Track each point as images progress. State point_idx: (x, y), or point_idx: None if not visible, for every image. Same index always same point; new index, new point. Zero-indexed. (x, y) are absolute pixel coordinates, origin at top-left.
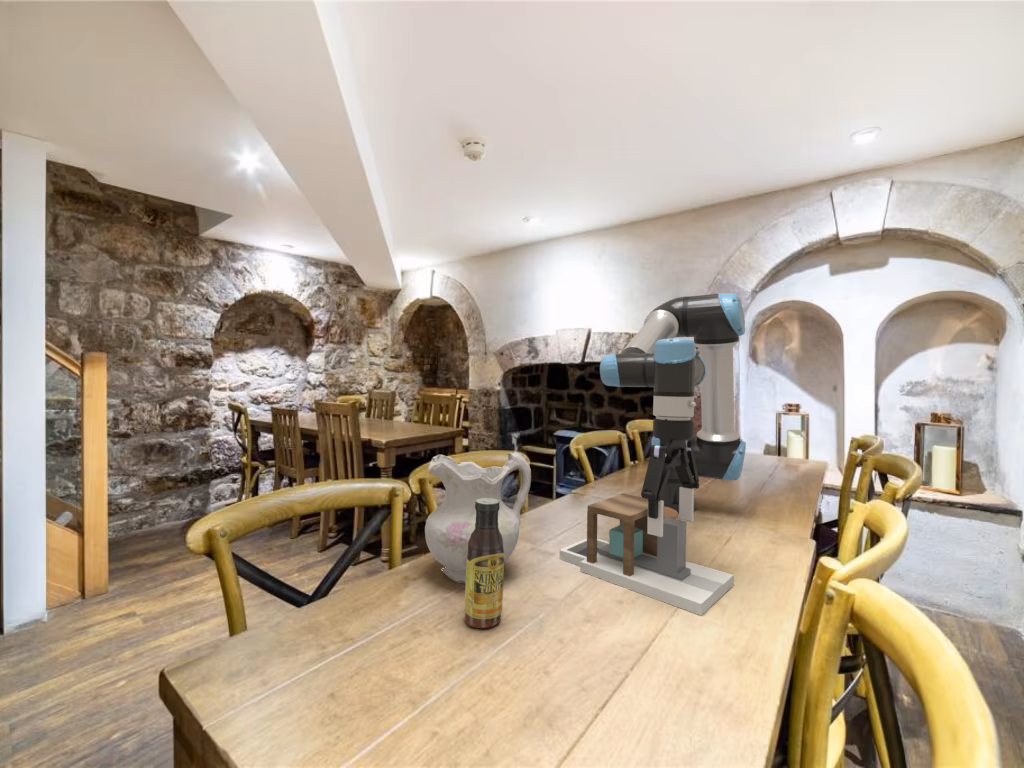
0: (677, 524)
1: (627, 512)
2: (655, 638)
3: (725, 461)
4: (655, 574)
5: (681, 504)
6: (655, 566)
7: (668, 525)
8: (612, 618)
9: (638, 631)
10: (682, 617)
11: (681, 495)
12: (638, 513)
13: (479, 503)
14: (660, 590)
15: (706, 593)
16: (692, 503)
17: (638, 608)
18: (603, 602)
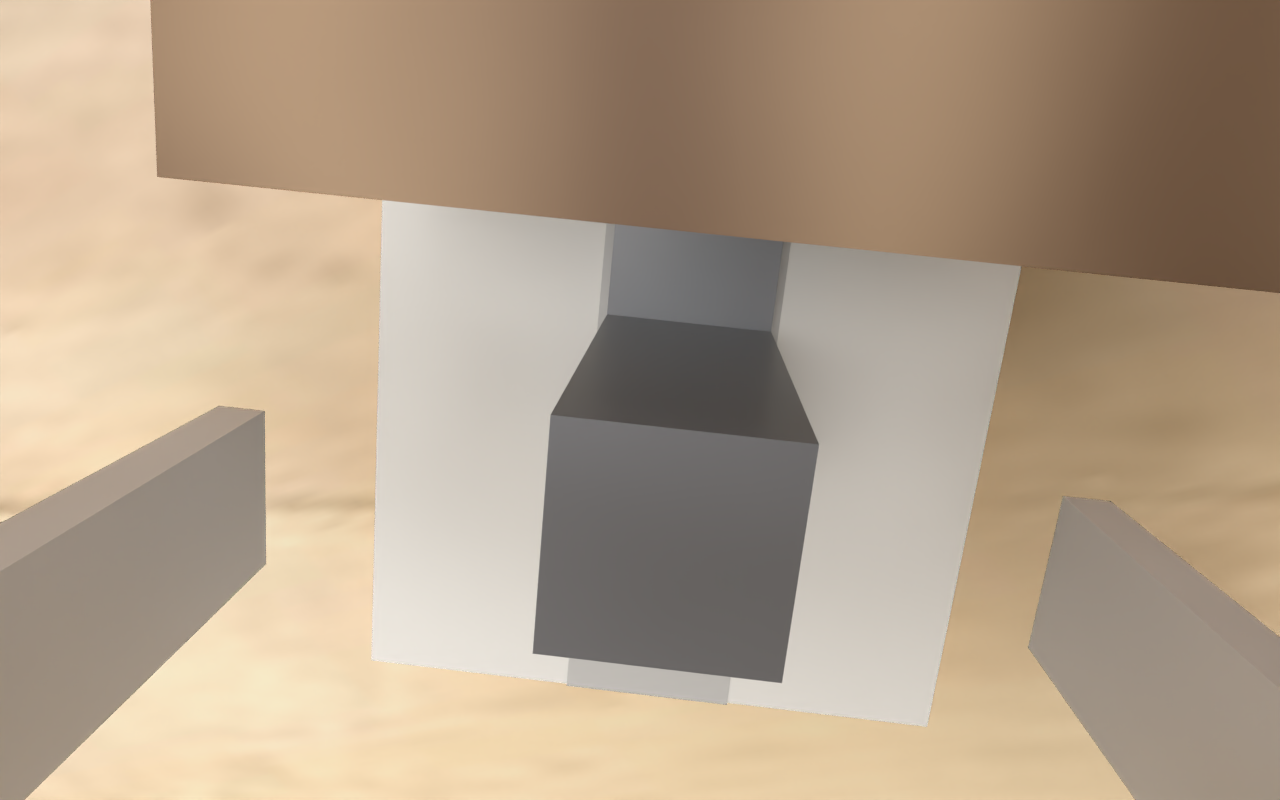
0: (602, 635)
1: (284, 48)
2: (19, 511)
3: None
4: (584, 305)
5: (1151, 614)
6: (614, 299)
7: (541, 546)
8: (10, 256)
9: (8, 423)
10: (307, 555)
11: (1234, 694)
12: (392, 199)
13: None
14: (380, 416)
15: (524, 653)
16: (1140, 796)
17: (221, 329)
18: (126, 121)
